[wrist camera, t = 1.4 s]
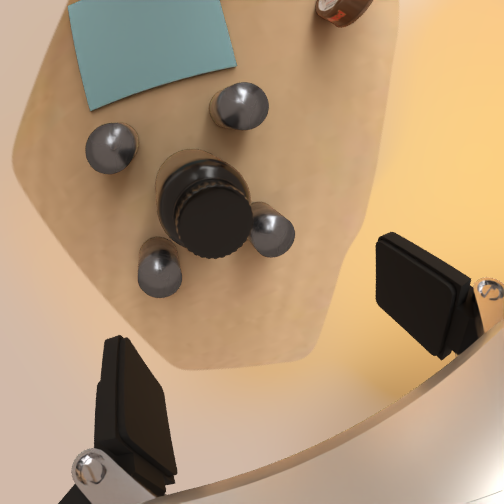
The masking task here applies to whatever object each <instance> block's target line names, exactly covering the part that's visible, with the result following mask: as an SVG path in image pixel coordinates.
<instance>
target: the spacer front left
mask: <svg viewBox="0 0 504 504" xmlns="http://www.w3.org/2000/svg"><path fill="white" fill-rule="evenodd" d="M138 145H139V140H138V136H137V133H136V132H135V130H134V129H133V128H132V127H131V126H129V125H127V124H124V123H108V124H104V125H101V126H99V127H98V128H96V129H95V130H94V131H93V132H92V133H91V135H90V136H89V138H88V140H87V143H86V157H87V160H88V162H89V164H90V165H91V167H92V168H93V169H95V170H96V171H98V172H100V173H103V174H114V173H117V172H119V171H121V170H123V169H124V168H125V167H126V166H127V165H128V164H129V163H130V162H131V160H132V158H133V157H134V155H135V154H136V152H137V149H138Z"/></svg>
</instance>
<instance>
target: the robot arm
mask: <svg viewBox="0 0 504 504" xmlns="http://www.w3.org/2000/svg"><path fill="white" fill-rule="evenodd" d="M470 282H471V278H469V277H468V276H466V275H464V274H463V273H461V272H460V271H458V270H457V269H455V268H454V267H452V266H450V265H448V264H447V263H445V262H444V261H442V260H441V259H439V258H437V257H436V256H434V255H432V254H430V253H429V252H427V251H426V250H424V249H422V248H420V247H419V246H417V245H415V244H414V243H412V242H410V241H408V240H407V239H405V238H403V237H401V236H400V235H398V234H396V233H394V232H390V233H387V234H385V235H383V236H380V237H379V239H378V242H377V243H376V302H377V304H378V305H379V306H380V307H381V308H382V309H383V310H384V311H385V312H386V313H387V314H388V315H389V316H391V317H392V318H393V319H394V320H395V321H396V322H397V323H398V324H399V325H400V326H401V327H403V328H404V329H405V330H406V331H407V332H408V333H409V334H410V335H411V336H412V337H413V338H414V339H416V340H417V341H418V342H419V343H420V344H421V345H422V346H423V347H424V348H425V349H426V350H427V351H428V352H429V353H430V354H432V355H433V356H437V357H438V358H440V360H443V359H444V358H445V357H446V356H448V355H449V354H450V353H451V351H454V352H455V356H456V358H455V359H454V360H453V361H451V362H450V363H449V364H448V365H446V366H445V367H444V368H442V369H441V370H440V371H438V372H437V373H436V374H434V375H433V376H432V377H430V378H429V379H428V380H426V381H425V382H423V383H422V384H421V385H419V386H418V387H416V388H415V389H413V390H412V391H410V392H409V393H407V394H406V395H404V396H403V397H401V398H400V399H398V400H397V401H395V402H394V403H392V404H391V405H389V406H387V407H386V408H384V409H383V410H381V411H379V412H378V413H376V414H374V415H372V416H371V417H369V418H367V419H366V420H364V421H362V422H360V423H358V424H356V425H355V426H353V427H351V428H349V429H347V430H345V431H343V432H341V433H339V434H338V435H336V436H334V437H332V438H330V439H327V440H325V441H323V442H321V443H319V444H317V445H315V446H313V447H311V448H308V449H306V450H304V451H302V452H299V453H297V454H295V455H292V456H290V457H287V458H285V459H283V460H280V461H278V462H275V463H273V464H269V465H267V466H264V467H261V468H259V469H256V470H253V471H250V472H247V473H244V474H241V475H238V476H235V477H232V478H229V479H225V480H222V481H218V482H215V483H212V484H208V485H204V486H201V487H197V488H193V489H189V490H185V491H181V492H177V493H173V494H170V495H166V494H165V492H166V488H165V485H170V484H174V483H175V480H174V475H176V474H177V467H176V462H175V457H174V452H173V446H172V441H171V436H170V429H169V423H168V417H167V411H166V404H165V396H164V392H163V389H162V387H161V386H160V384H159V383H158V381H157V380H156V378H155V377H154V375H153V374H152V373H151V371H150V370H149V368H148V367H147V365H146V364H145V362H144V361H143V360H142V358H141V357H140V355H139V354H138V352H137V350H136V349H135V347H134V346H133V345H132V343H131V341H130V340H129V339H128V338H123V337H122V336H121V335H118V336H115V337H113V338H109V339H107V340H105V342H104V351H103V359H102V369H101V380H100V382H99V383H98V385H97V393H96V408H95V432H94V448H92V449H87V450H85V451H83V452H81V453H80V454H79V455H78V456H77V457H76V459H75V460H74V462H73V465H72V472H71V473H72V477H73V480H74V482H75V484H74V486H73V487H72V488H71V489H70V491H69V492H68V493H67V494H66V495H65V496H64V497H63V499H62V500H61V501H60V502H59V503H58V504H504V284H503V283H502V282H500V281H498V280H496V279H493V278H481V279H479V280H477V281H476V282H475V284H474V286H473V287H472V286H470Z"/></svg>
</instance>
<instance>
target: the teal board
mask: <svg viewBox="0 0 504 504" xmlns="http://www.w3.org/2000/svg"><path fill="white" fill-rule="evenodd" d="M68 11H69V18H70V24H71V30H72V35H73V41H74V46H75V51H76V55H77V60H78V65H79V69H80V73H81V77H82V82H83V86H84V90H85V94H86V97H87V101H88V105H89V108H90V111H93V110H95V109H97V108H100V107H102V106H105V105H107V104H110V103H112V102H115V101H117V100H120V99H123V98H125V97H128V96H131V95H134V94H136V93H139V92H142V91H145V90H148V89H151V88H154V87H158V86H161V85H164V84H167V83H171V82H174V81H178V80H181V79H185V78H189V77H193V76H196V75H200V74H205V73H209V72H213V71H218V70H222V69H227V68H232V67H236V66H237V64H236V60H235V56H234V52H233V48H232V45H231V41H230V37H229V33H228V29H227V26H226V22H225V18H224V15H223V11H222V7H221V4H220V0H81V1H78V2H76V3H74V4H71V5H69V6H68Z"/></svg>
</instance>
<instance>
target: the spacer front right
mask: <svg viewBox="0 0 504 504" xmlns="http://www.w3.org/2000/svg"><path fill="white" fill-rule="evenodd" d="M268 109H269V104H268V99H267V97H266V95H265V93H264V92H263V90H262V89H261V88H259V87H258V86H256V85H254V84H252V83H246V82H242V83H237V84H234V85H232V86H230V87H227V88H225V89H223V90H221V91H219V92H218V93H216V94H215V95H214V96H213V98H212V100H211V102H210V105H209V112H210V115H211V118H212V119H213V121H214V122H215V123H216V124H218V125H219V126H221V127H224V128H230V129H238V130H250V129H253V128H255V127H257V126H259V125H260V124H261V123H262V122H263V121H264V120H265V118H266V116H267V114H268Z"/></svg>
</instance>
